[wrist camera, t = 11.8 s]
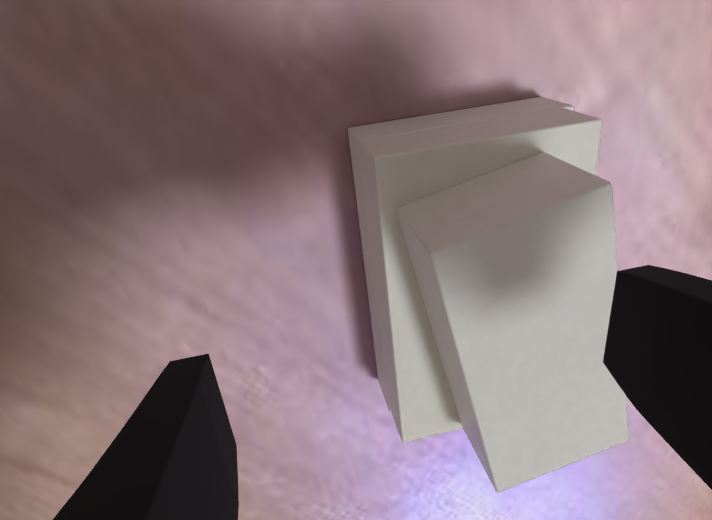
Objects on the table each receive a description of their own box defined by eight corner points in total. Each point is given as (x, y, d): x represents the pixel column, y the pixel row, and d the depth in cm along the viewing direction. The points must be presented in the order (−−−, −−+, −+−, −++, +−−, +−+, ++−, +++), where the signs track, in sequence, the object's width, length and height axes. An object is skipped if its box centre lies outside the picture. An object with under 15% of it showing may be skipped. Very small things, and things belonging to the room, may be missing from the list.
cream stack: (378, 380, 22) (403, 451, 18) (347, 127, 17) (373, 157, 13) (527, 347, 22) (579, 408, 19) (541, 96, 17) (616, 116, 14)
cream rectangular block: (460, 424, 18) (497, 494, 15) (394, 207, 14) (429, 253, 11) (574, 378, 18) (630, 441, 16) (544, 150, 14) (613, 181, 11)
